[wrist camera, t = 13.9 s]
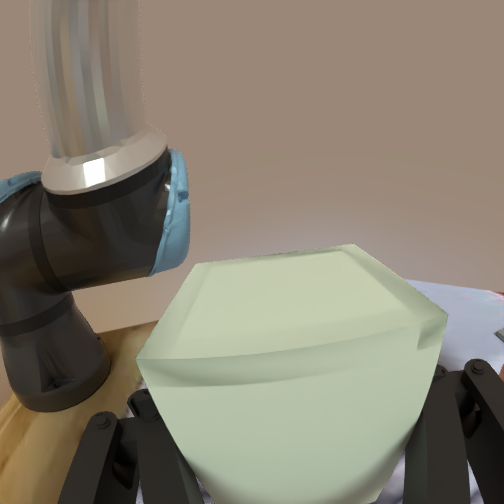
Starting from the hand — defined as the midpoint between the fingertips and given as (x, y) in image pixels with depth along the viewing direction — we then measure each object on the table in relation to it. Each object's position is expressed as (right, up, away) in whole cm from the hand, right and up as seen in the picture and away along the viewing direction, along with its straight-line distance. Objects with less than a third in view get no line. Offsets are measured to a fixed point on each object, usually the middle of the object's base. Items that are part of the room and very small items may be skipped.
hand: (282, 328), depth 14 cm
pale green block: (+1, -7, -3) cm, 8 cm away
